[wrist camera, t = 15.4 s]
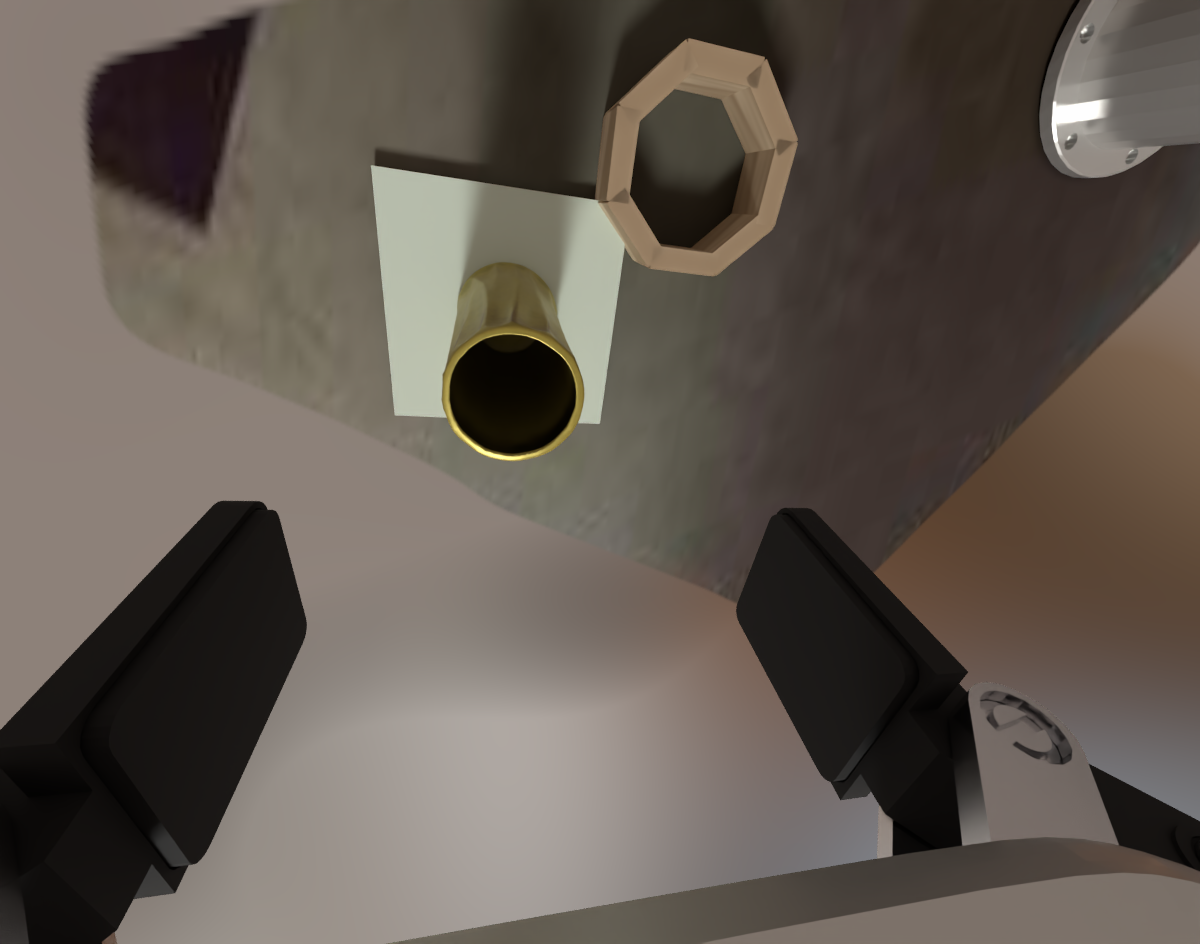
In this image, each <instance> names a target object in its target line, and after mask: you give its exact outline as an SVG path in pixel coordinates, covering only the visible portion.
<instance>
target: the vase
mask: <svg viewBox="0 0 1200 944" xmlns="http://www.w3.org/2000/svg"><path fill="white" fill-rule="evenodd" d="M442 381H443V383H442V399H441V400H442V405H443V410H444V412H445V414H446V417H447V419H448V422H449V424H450V426H451V428H452V430H453V431H454V432H455V434H456V435H457V436H458V437H459V438H460V439H461V440H462V441H464V442H465V443H466V444H467V445H469V446H470V447H471V448H472V449H474V450H475V451H477V452H479V453H480V454H482V455H485V456H487V457H490V458H494V459H498V460H504V461H520V460H526V459H530V458H534V457H538V456H541V455H543V454H546V453H548V452H550V451H552V450H553V449H554V448H556V447H557V446H558V445H560V444H561V443H562V442H563V441H564V440H565V439H566V438H567V437H568V436H569V435H570V434H571V433H572V432H573V430H574V428H575V427H576V425H577V423H578V421H579V420H580V416H581V412H582V409H583V403H584V383H583V379H582V376H581V373H580V370H579V367H578V364H577V362H576V359H575V357H574V355H573V353H572V351H571V349H570V347H569V345H568V343H567V341H566V338H565V336H564V333H563V331H562V328H561V325H560V322H559V319H558V317H557V309H556V304H555V300H554V297H553V294H552V292H551V290H550V288H549V287H548V285H547V284H546V283H545V282H544V281H543V280H542V278H541V277H539V276H538V275H537V274H536V273H535V272H533V271H532V270H530V269H528V268H526V267H524V266H522V265H519V264H515V263H508V262H499V263H493V264H490V265H487V266H485V267H483V268H481V269H479V270H477V271H476V272H475V273H473V274H472V275H471V276H470V277H469V278H468V280H467V281H466V282H465V284H464V285H463V287H462V289H461V291H460V294H459V296H458V301H457V316H456V321H455V325H454V331H453V336H452V340H451V345H450V350H449V354H448V358H447V363H446V367H445V370H444V372H443V375H442Z"/></svg>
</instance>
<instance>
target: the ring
mask: <svg viewBox="0 0 1200 944" xmlns="http://www.w3.org/2000/svg"><path fill="white" fill-rule="evenodd" d="M764 59H765V57H762V56H758V55H754V54H750V53H746V52H742V51H738V50H734V49H730V48H726V47H722V46H718V45H714V44H710V43H706V42H702V41H698V40H694V39H690V38H688V39H687V40H684V41H683V42H682V43H681V44H680V45H678V46H677V47H676V48H675V49H674V50H672V51H671V52H670V53H669V54H668V55H667V56H665V57H664V58H663V59H662V60H661V61H660V62H659V63H658V64H657V65H656V66H655V67H654V68H652V69H651V70H650V71H649V72H648V73H647V74H646V75H645V76H644V77H643V78H642V79H641V80H640V81H639V82H638V83H637V84H636V85H635V86H634V87H632V88H631V89H630V90H629V91H628V92H627V93H626V94H625V95H624V96H623V97H622V98H621V99H620V100H619V101H618V102H617V103H616V104H615V105H614V106H612V107H611V108H610V109H609V110H608V111H607V112H606V113H605V116H603V126H602V135H601V145H600V154H599V163H598V173H597V182H596V192H595V200H598V201H599V202H598V204H599V206H600V207H601V209H602V210H603V212H604V213H605V215H606V216H607V218H608V219H609V221H610V223H611V224H612V226H613V227H614V229H615V230H616V232H617V233H618V235H619V236H620V238H621V239H622V241H623V242H624V244H625V249H626V250H627V252H628V253H629V255H630V257H631V258H632V260H633V261H635V262H637V263H639V264H641V265H643V266H646V267H648V268H650V269H658V270H666V271H674V272H682V273H690V274H698V275H706V276H714V275H715V276H716V275H718V274H719V273H720V272H721V271H722V270H724V269H725V268H726V267H727V266H729V265H730V264H731V263H732V262H733V261H735V260H736V259H737V258H738V257H740V256H741V255H742V254H743V253H744V252H746V251H747V250H748V249H749V248H750V247H752V246H753V245H754V244H755V243H757V242H758V241H759V240H760V239H761V238H763V237H764V236H765V235H766V234H768V233H769V232H770V231H771V230H772V229H773V227H775V223H776V220H777V216H778V213H779V209H780V205H781V202H782V198H783V195H784V191H785V187H786V184H787V180H788V177H789V173H790V169H791V166H792V162H793V159H794V155H795V151H796V148H797V144H798V143H797V142H796V141H797V140H798V139H797V136H796V133H795V131H794V128H793V126H792V123H791V121H790V118H789V115H788V113H787V110H786V108H785V105H784V102H783V100H782V97H781V95H780V92H779V89H778V87H777V84H776V82H775V79H774V76H773V74H772V71H771V69H770V66H769V64H768V61H767V59H766V60H764ZM674 89H677V90H681V91H686V92H690V93H695V94H699V95H704V96H709V97H713V98H718V99H721V100H722V102H723V104H724V107H725V109H726V111H727V113H728V116H729V118H730V120H731V122H732V124H733V127H734V129H735V131H736V133H737V136H738V138H739V140H740V142H741V144H742V147H743V149H744V151H745V153H746V154H745V159H744V163H743V167H742V171H741V176H740V180H739V184H738V188H737V193H736V197H735V201H734V205H733V210H732V214H730V215H729V216H728V217H727V218H726V219H725V220H723V221H722V222H721V223H720V224H719V225H717V226H716V227H715V228H714V229H713V230H711V231H710V232H709V233H708V234H707V235H706V236H704V237H703V238H702V239H701V240H700V241H698V242H697V243H696V244H695V245H694V246H693V247H691V248H688V247H681V246H674V245H666V244H659V242H658V241H657V239H656V237H655V236H654V234H653V232H652V231H651V229H650V227H649V226H648V224H647V222H646V221H645V219H644V218H643V216H642V214H641V213H640V211H639V209H638V208H637V206H636V204H635V203H634V201H633V200H632V198H631V196H630V188H631V180H632V173H633V166H634V159H635V151H636V144H637V137H638V130H639V122H640V120H641V119H643V118H644V117H645V116H646V115H647V114H648V113H649V112H650V111H651V110H652V109H653V108H654V107H655V106H657V105H658V104H659V103H660V102H661V101H662V100H663V99H664V98H665V97H666V96H667V95H668V94H669V93H671V92H672V91H673V90H674ZM772 226H773V227H772Z"/></svg>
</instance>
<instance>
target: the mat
mask: <svg viewBox="0 0 1200 944" xmlns="http://www.w3.org/2000/svg"><path fill="white" fill-rule="evenodd" d="M371 170H372V180H373V191H374V201H375V212H376V222H377V233H378V243H379V254H380V264H381V275H382V285H383V296H384V306H385V317H386V327H387V338H388V348H389V359H390V369H391V380H392V390H393V401H394V411H395V415H401V416H425V417H446V414H445V412H444V410H443V405H442V400H441V399H442V383H443V381H442V375H443V372H444V370H445V367H446V363H447V358H448V354H449V350H450V345H451V340H452V336H453V331H454V325H455V321H456V316H457V301H458V296H459V294H460V291H461V289H462V287H463V285H464V284H465V282H466V281H467V280H468V278H469V277H470V276H471V275H472V274H473V273H475V272H476V271H477V270H479V269H481V268H483V267H485V266H487V265H490V264H493V263H499V262H508V263H515V264H519V265H522V266H524V267H526V268H528V269H530V270H532V271H533V272H535V273H536V274H537V275H538V276H539V277H541V278H542V280H543V281H544V282H545V283H546V284H547V285H548V287H549V288H550V290H551V292H552V294H553V297H554V300H555V304H556V309H557V317H558V319H559V322H560V325H561V328H562V331H563V333H564V336H565V338H566V341H567V343H568V345H569V347H570V349H571V351H572V353H573V355H574V357H575V359H576V362H577V364H578V367H579V370H580V373H581V376H582V379H583V383H584V403H583V409H582V412H581V416H580V420H579V421H578V423H593V424H600V418H601V411H602V404H603V397H604V390H605V383H606V375H607V368H608V361H609V354H610V347H611V340H612V332H613V325H614V318H615V311H616V304H617V297H618V290H619V282H620V275H621V268H622V261H623V254H624V247H625V244H624V242H623V241H622V239H621V238H620V236H619V235H618V233H617V232H616V230H615V229H614V227H613V226H612V224H611V223H610V221H609V219H608V218H607V216H606V215H605V213H604V212H603V210H602V209H601V207H600V206H599V204H598V202H599V201H598V200H592V199H585V198H579V197H573V196H566V195H560V194H553V193H547V192H540V191H534V190H527V189H521V188H514V187H508V186H502V185H495V184H489V183H482V182H476V181H469V180H463V179H456V178H450V177H443V176H437V175H430V174H424V173H418V172H411V171H405V170H398V169H392V168H385V167H379V166H372V165H371Z"/></svg>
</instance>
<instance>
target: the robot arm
mask: <svg viewBox="0 0 1200 944" xmlns="http://www.w3.org/2000/svg"><path fill="white" fill-rule="evenodd" d="M1039 120H1040V136H1041V140H1042V144H1043V148H1044V152H1045V153H1046V155H1047V157H1048V159H1049V160H1050V162H1051V164H1052V165H1053V166H1054V167H1055V168H1057V169H1058V170H1059V171H1060V172H1061V173H1063V174H1066V175H1068V176H1071V177H1076V178H1096V177H1108V176H1111V175H1114V174H1117V173H1120V172H1123V171H1125V170H1127V169H1129V168H1131V167H1133V166H1135V165H1137V164H1139V163H1141V162H1142V161H1144V160H1145V159H1146V158H1148V157H1149V156H1151V155H1152V154H1153V153H1155V152H1156V151H1158V150H1159V149H1160V148H1161V147H1162V146H1169V145H1181V144H1194V143H1200V0H1080V1H1079V3H1078V5H1077V6H1076V8H1075V9H1074V11H1073V13H1072V14H1071V16H1070V18H1069V20H1068V22H1067V24H1066V26H1065V28H1064V30H1063V32H1062V34H1061V36H1060V38H1059V40H1058V42H1057V45H1056V48H1055V50H1054V53H1053V56H1052V58H1051V61H1050V64H1049V66H1048V70H1047V74H1046V78H1045V82H1044V86H1043V90H1042V95H1041V104H1040V112H1039ZM736 612H737V618H738V621H739V623H740V625H741V627H742V629H743V631H744V633H745V634H746V636H747V638H748V640H749V642H750V644H751V646H752V648H753V649H754V651H755V653H756V655H757V657H758V659H759V661H760V662H761V664H762V666H763V668H764V670H765V672H766V674H767V676H768V678H769V679H770V681H771V683H772V685H773V687H774V689H775V690H776V692H777V694H778V696H779V698H780V700H781V702H782V704H783V706H784V707H785V709H786V711H787V713H788V715H789V717H790V719H791V720H792V722H793V724H794V726H795V728H796V730H797V732H798V733H799V735H800V737H801V739H802V741H803V743H804V745H805V746H806V749H807V750H808V752H809V754H810V756H811V758H812V760H813V762H814V763H815V765H816V767H817V769H818V771H819V772H820V774H821V775H822V776H823V777H824V778H825V779H826V780H827V781H830V782H831V784H832V785H833V787H834V789H835V791H836V792H837V794H838V796H839V798H840V800H845V799H852V798H859V797H866V796H867V795H868V794H869V793H870V792H872V793H873V795H874V797H875V798H876V800H877V802H878V803H879V816H878V846H877V847H878V848H877V859H873V860H867V861H861V862H855V863H849V864H843V865H837V866H831V867H825V868H819V869H813V870H807V871H801V872H795V873H790V874H783V875H777V876H771V877H766V878H759V879H753V880H747V881H742V882H736V883H731V884H724V885H719V886H713V887H707V888H701V889H695V890H690V891H684V892H678V893H672V894H666V895H661V896H655V897H649V898H643V899H637V900H632V901H626V902H620V903H615V904H609V905H603V906H597V907H592V908H586V909H580V910H575V911H569V912H563V913H557V914H552V915H546V916H540V917H534V918H529V919H523V920H517V921H511V922H506V923H500V924H495V925H489V926H484V927H478V928H472V929H466V930H461V931H455V932H450V933H444V934H439V935H433V936H428V937H422V938H416V939H411V940H405V941H399V942H394V943H388V944H1200V821H1198V820H1196V819H1194V818H1192V817H1191V816H1188V815H1187V814H1185V813H1183V812H1181V811H1179V810H1177V809H1175V808H1173V807H1171V806H1169V805H1167V804H1165V803H1163V802H1162V801H1159V800H1158V799H1156V798H1154V797H1152V796H1150V795H1148V794H1146V793H1144V792H1142V791H1140V790H1138V789H1136V788H1134V787H1133V786H1131V785H1129V784H1127V783H1125V782H1123V781H1121V780H1119V779H1117V778H1115V777H1113V776H1111V775H1109V774H1107V773H1106V772H1104V771H1102V770H1100V769H1098V768H1096V767H1094V766H1092V765H1090V764H1088V761H1087V758H1086V756H1085V753H1084V751H1083V749H1082V748H1081V746H1080V744H1079V742H1078V740H1077V739H1076V737H1075V736H1074V735H1073V734H1072V733H1071V732H1070V730H1069V729H1068V728H1067V727H1066V726H1065V725H1064V724H1063V723H1062V722H1061V721H1060V720H1059V719H1058V718H1057V717H1056V716H1054V715H1053V714H1052V713H1051V712H1050V711H1049V710H1048V709H1046V708H1045V707H1043V706H1042V705H1040V704H1039V703H1037V702H1036V701H1034V700H1033V699H1032V698H1030V697H1028V696H1026V695H1024V694H1022V693H1020V692H1018V691H1017V690H1014V689H1012V688H1009V687H1006V686H1003V685H1000V684H996V683H989V682H982V683H977V684H974V685H973V686H972V688H970V689H969V691H968V692H966V691H965V690H964V689H963V688H962V686H961V685H960V684H959V683H960V682H961V680H962V679H963V678H964V677H965V675H966V674H967V673H968V671H967V670H966V669H965V668H964V667H963V666H962V665H961V664H960V663H959V662H958V661H957V660H956V659H955V658H954V657H953V656H952V655H951V654H950V652H949V651H948V650H947V649H946V648H945V647H944V646H943V645H941V643H940V642H939V641H938V640H937V639H936V638H935V637H934V636H933V635H932V634H931V633H930V632H929V631H928V629H927V628H926V627H925V626H924V625H923V624H922V623H921V622H920V621H919V620H918V619H917V618H916V617H915V616H914V615H913V614H912V613H911V612H910V611H909V610H908V609H907V608H906V607H905V606H904V605H903V603H902V602H901V601H900V600H899V599H898V598H897V597H896V596H895V595H894V594H893V593H892V592H891V591H890V590H889V589H888V588H887V587H886V586H885V585H884V584H883V583H882V581H881V580H880V579H879V578H878V577H877V576H876V575H875V574H874V573H873V572H872V571H871V570H870V569H869V568H868V567H867V566H866V565H865V564H864V563H863V562H862V561H861V560H860V559H859V557H858V556H857V555H856V554H855V553H854V552H853V551H852V550H851V549H850V548H849V547H848V546H847V545H846V544H845V543H844V542H843V541H842V540H841V539H840V538H839V537H838V536H837V535H836V533H835V532H834V531H833V530H832V529H831V528H830V527H829V526H828V525H827V524H826V523H825V522H824V521H823V520H822V519H821V518H820V517H819V516H818V515H817V514H816V513H815V512H814V511H813V510H812V509H808V508H783V509H781V510H780V511H779V512H778V513H777V515H774V516H772V517H771V519H770V521H769V523H768V526H767V529H766V531H765V534H764V536H763V539H762V542H761V544H760V547H759V549H758V552H757V554H756V557H755V560H754V562H753V565H752V567H751V570H750V572H749V575H748V578H747V580H746V583H745V585H744V588H743V591H742V593H741V596H740V598H739V601H738V603H737V609H736ZM306 628H307V622H306V617H305V613H304V609H303V606H302V602H301V598H300V594H299V591H298V587H297V583H296V579H295V575H294V572H293V568H292V564H291V560H290V557H289V553H288V549H287V545H286V542H285V538H284V534H283V530H282V527H281V523H280V519H279V516H278V514H277V512H276V511H274V510H267V507H266V506H265V505H264V503H262V502H260V501H220V502H217V503H216V504H215V505H213V506H212V507H211V509H209V510H208V512H207V513H206V514H205V515H204V516H203V517H202V518H201V519H200V520H199V521H198V522H197V523H196V524H195V525H194V526H193V527H192V528H191V529H190V531H189V532H188V533H187V534H186V535H185V536H184V537H183V538H182V539H181V540H180V541H179V542H178V543H177V544H176V545H175V546H174V547H173V549H171V551H170V552H169V553H168V554H167V555H166V556H165V557H164V558H163V559H162V560H161V561H160V562H159V563H158V565H156V567H154V569H153V570H152V571H151V572H150V573H149V574H148V575H147V576H146V577H145V578H144V579H143V580H142V581H141V582H140V583H139V584H138V585H137V586H136V588H135V589H134V590H133V591H132V592H131V593H130V594H129V595H128V596H127V597H126V598H125V599H124V600H123V601H122V602H121V603H120V604H119V605H118V606H117V608H116V609H115V610H114V611H113V612H112V613H111V614H110V615H109V616H108V617H107V618H106V619H105V620H104V621H103V622H102V623H101V624H100V626H99V627H98V628H97V629H96V630H95V631H94V632H93V633H92V634H91V635H90V636H89V637H88V638H87V639H86V640H85V641H84V642H83V643H82V644H81V645H80V647H79V648H78V649H77V650H76V651H75V652H74V653H73V654H72V655H71V656H70V657H69V658H68V659H67V660H66V661H65V662H64V663H63V664H62V666H61V667H60V668H59V669H58V670H57V671H56V672H55V673H54V674H53V675H52V676H51V677H50V678H49V679H48V680H47V681H46V682H45V683H44V685H43V686H42V687H41V688H40V689H39V690H38V691H37V692H36V693H35V694H34V695H33V696H32V697H31V698H30V699H29V700H28V701H27V702H26V704H25V705H24V706H23V707H22V708H21V709H20V710H19V711H18V712H17V713H16V714H15V715H14V716H13V717H12V718H11V720H9V721H8V723H7V724H6V725H5V726H4V727H3V728H2V729H1V730H0V944H117V941H116V937H115V931H116V930H117V929H118V927H119V925H120V923H121V921H122V920H123V918H124V916H125V914H126V912H127V910H128V908H129V906H130V904H131V903H132V901H133V899H137V898H144V897H151V896H158V895H166V894H172V893H175V892H176V890H177V888H178V886H179V884H180V882H181V880H182V878H183V875H184V873H185V871H186V869H187V867H188V865H192V864H196V863H197V862H198V861H199V860H201V859H202V857H203V856H204V855H205V853H206V852H207V849H208V848H209V846H210V844H211V842H212V840H213V837H214V835H215V833H216V831H217V829H218V827H219V824H220V822H221V820H222V818H223V816H224V813H225V811H226V809H227V807H228V805H229V803H230V800H231V798H232V796H233V794H234V792H235V790H236V787H237V785H238V783H239V781H240V779H241V776H242V774H243V772H244V770H245V768H246V766H247V763H248V761H249V759H250V757H251V755H252V752H253V750H254V748H255V746H256V744H257V742H258V739H259V737H260V735H261V733H262V731H263V729H264V726H265V724H266V722H267V720H268V718H269V715H270V713H271V711H272V709H273V707H274V705H275V702H276V700H277V698H278V696H279V694H280V691H281V689H282V687H283V685H284V683H285V681H286V678H287V676H288V674H289V672H290V670H291V668H292V665H293V663H294V661H295V659H296V657H297V654H298V652H299V650H300V648H301V645H302V644H303V641H304V638H305V635H306Z"/></svg>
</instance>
